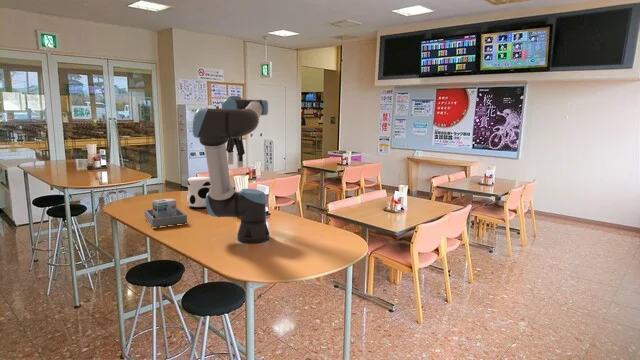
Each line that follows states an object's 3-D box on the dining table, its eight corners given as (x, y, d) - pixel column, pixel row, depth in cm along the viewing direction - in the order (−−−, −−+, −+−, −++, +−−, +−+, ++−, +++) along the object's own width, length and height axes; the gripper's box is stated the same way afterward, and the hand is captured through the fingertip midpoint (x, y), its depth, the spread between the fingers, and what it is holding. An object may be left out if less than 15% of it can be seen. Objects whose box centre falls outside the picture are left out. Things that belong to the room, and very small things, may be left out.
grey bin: (187, 224, 205) (186, 215, 204) (152, 229, 195) (152, 219, 194) (176, 215, 223) (176, 206, 222) (144, 218, 213) (144, 210, 212)
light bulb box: (158, 222, 203) (157, 202, 201) (152, 220, 207) (151, 200, 206) (177, 219, 211) (176, 199, 209) (171, 216, 215) (170, 197, 213)
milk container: (185, 204, 248) (184, 177, 245) (213, 202, 256) (212, 175, 253) (188, 210, 233) (187, 181, 230) (218, 208, 240) (217, 180, 237)
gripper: (251, 126, 196) (251, 168, 199) (232, 125, 216) (233, 162, 220) (236, 126, 191) (237, 169, 195) (219, 125, 212) (220, 163, 215)
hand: (235, 165), depth 207 cm, fingers open, 13 cm apart
